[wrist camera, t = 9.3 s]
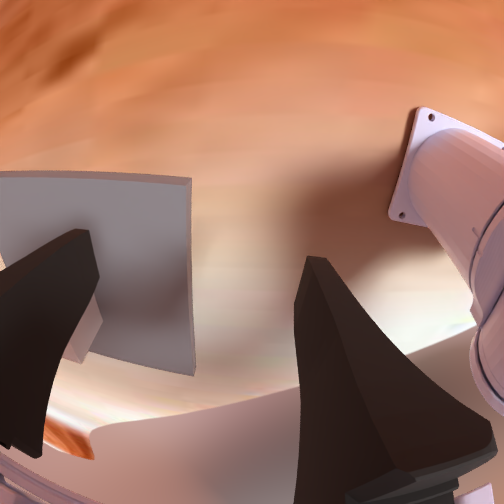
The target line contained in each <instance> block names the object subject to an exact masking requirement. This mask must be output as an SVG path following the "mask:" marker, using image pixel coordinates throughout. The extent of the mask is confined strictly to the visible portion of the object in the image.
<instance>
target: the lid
mask: <svg viewBox="0 0 504 504" xmlns="http://www.w3.org/2000/svg"><path fill="white" fill-rule="evenodd" d="M191 191H192V178H188V177H176V176H164V175H151V174H135V173H117V172H93V171H0V253H1V256H2V258H3V261H4V263H5V266H6V268H7V267H8V266H10V265H12V264H13V263H15V262H17V261H18V260H20V259H22V258H23V257H25V256H27V255H28V254H30V253H32V252H33V251H35V250H36V249H38V248H40V247H41V246H43V245H45V244H46V243H48V242H50V241H51V240H53V239H55V238H57V237H59V236H60V235H62V234H64V233H66V232H68V231H70V230H73V229H75V228H76V229H85V230H89V231H90V236H91V241H92V246H93V250H94V255H95V259H96V263H97V267H98V271H99V275H100V278H99V281H98V283H97V286H96V289H95V291H94V293H93V296H92V298H91V301H90V303H89V305H88V306H87V308H86V310H85V312H84V314H83V316H82V318H81V320H80V321H79V323H78V325H77V327H76V329H75V331H74V333H73V335H72V337H71V338H70V340H69V342H68V344H67V346H66V348H65V351H64V353H63V355H62V357H63V358H65V359H68V360H71V361H74V362H77V363H80V364H82V362H83V360H84V358H85V356H86V354H87V352H88V351H90V352H94V353H97V354H100V355H104V356H107V357H111V358H115V359H118V360H122V361H126V362H130V363H134V364H138V365H142V366H146V367H151V368H155V369H160V370H164V371H169V372H174V373H179V374H184V375H189V376H194V373H195V369H196V358H195V342H194V323H193V300H192V263H191Z"/></svg>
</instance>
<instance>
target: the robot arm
mask: <svg viewBox="0 0 504 504" xmlns="http://www.w3.org/2000/svg"><path fill="white" fill-rule="evenodd" d="M429 114H432V119H431V120H429V119H428V116H429ZM502 148H503V150H502ZM401 212H404V213H403V215H402V216H399V214H400V213H401ZM388 216H389V217H390V219H391V220H394V221H399V222H404V223H409V224H413V225H418V226H423V227H428V228H429V229H430V230H431V232H432V233H433V234H434V236H435V237H436V238H437V240H438V241H439V243H440V244H441V246H442V247H443V248H444V250H445V251H446V253H447V254H448V256H449V257H450V259H451V260H452V262H453V263H454V265H455V266H456V268H457V269H458V271H459V272H460V274H461V276H462V277H463V279H464V280H465V282H466V284H467V285H468V287H469V289H470V290H471V292H472V293H473V297H474V298H473V304H472V306H471V309H470V312H471V314H472V316H473V318H474V320H475V321H476V323H477V325H478V327H479V329H478V330H477V331H476V333H475V335H474V337H473V339H472V342H471V347H470V366H471V371H472V374H473V378H474V380H475V382H476V385H477V387H478V389H479V391H480V392H481V394H482V396H483V397H484V399H485V400H486V401H487V403H488V404H489V405H490V406H491V407H492V408H493V409H494V410H495V411H497V412H498V413H499V414H501V415H502V416H504V143H503V142H501V141H499V140H497V139H495V138H493V137H491V136H490V135H488V134H486V133H484V132H482V131H480V130H478V129H475V128H473V127H471V126H469V125H467V124H465V123H463V122H460V121H458V120H456V119H454V118H451V117H449V116H447V115H444V114H442V113H439V112H437V111H434V110H432V109H429V108H426V107H419V108H418V109H417V111H416V114H415V119H414V123H413V127H412V131H411V135H410V139H409V143H408V147H407V150H406V154H405V158H404V161H403V165H402V168H401V172H400V175H399V178H398V182H397V185H396V188H395V191H394V194H393V197H392V200H391V203H390V206H389V209H388ZM99 278H100V275H99V271H98V267H97V263H96V259H95V255H94V250H93V246H92V241H91V236H90V231H89V230H85V229H76V228H75V229H73V230H70V231H68V232H66V233H64V234H62V235H60V236H59V237H57V238H55V239H53V240H51V241H50V242H48V243H46V244H45V245H43V246H41V247H40V248H38V249H36V250H35V251H33V252H32V253H30V254H28V255H27V256H25V257H23V258H22V259H20V260H18V261H17V262H15V263H13V264H12V265H10V266H8V267H7V268H5V269H4V270H2V271H0V445H2V446H3V447H5V448H6V449H8V450H9V449H10V447H11V446H13V447H15V448H17V449H18V450H20V451H22V452H23V453H25V454H27V455H29V456H30V457H32V458H39V457H41V456H42V445H43V432H44V424H45V417H46V411H47V406H48V401H49V397H50V393H51V389H52V385H53V381H54V378H55V375H56V372H57V369H58V366H59V363H60V360H61V358H62V355H63V353H64V351H65V348H66V346H67V344H68V342H69V340H70V338H71V337H72V335H73V333H74V331H75V329H76V327H77V325H78V323H79V321H80V320H81V318H82V316H83V314H84V312H85V310H86V308H87V306H88V305H89V303H90V301H91V298H92V296H93V293H94V291H95V289H96V286H97V283H98V281H99ZM294 337H295V346H296V356H297V365H298V374H299V384H300V398H301V416H300V418H301V419H300V421H301V422H300V442H299V459H298V469H297V480H296V488H295V496H294V503H293V504H494V498H493V492H492V486H491V483H487V484H484V485H482V486H480V487H478V488H476V489H474V490H471V491H469V492H467V493H465V494H462V495H460V496H458V497H455V498H454V496H453V491H454V490H456V489H458V487H459V483H458V477H460V476H462V475H464V474H466V473H468V472H470V471H472V470H473V469H475V468H477V467H479V466H481V465H482V464H484V463H486V462H487V461H489V460H490V459H492V458H493V457H494V456H496V454H497V452H498V449H497V445H496V442H495V438H494V434H493V430H492V427H491V424H490V421H488V420H487V419H485V418H483V417H482V416H480V415H479V414H477V413H476V412H474V411H473V410H471V409H470V408H468V407H466V406H465V405H463V404H462V403H460V402H459V401H458V400H456V399H455V398H454V397H452V396H451V395H450V394H448V393H447V392H446V391H445V390H443V389H442V388H441V387H439V386H438V385H437V384H436V383H435V382H433V381H432V380H431V379H430V378H429V377H427V376H426V375H425V374H424V373H423V372H422V371H421V370H420V369H419V368H418V367H416V366H415V365H414V364H413V363H412V362H411V361H410V360H409V359H408V358H407V357H406V356H405V355H404V354H403V353H402V352H401V351H400V350H399V349H398V348H397V347H396V346H395V345H394V344H393V343H392V342H391V341H390V339H389V338H388V337H387V336H386V335H385V334H384V333H383V332H382V331H381V329H380V328H379V327H378V326H377V325H376V323H375V322H374V321H373V320H372V319H371V317H370V316H369V315H368V314H367V312H366V311H365V310H364V309H363V307H362V306H361V305H360V303H359V302H358V301H357V300H356V298H355V297H354V296H353V294H352V293H351V292H350V290H349V289H348V287H347V286H346V285H345V283H344V282H343V280H342V279H341V278H340V276H339V275H338V274H337V272H336V271H335V269H334V268H333V267H332V265H331V264H330V262H329V261H328V260H327V258H321V257H313V256H307V258H306V262H305V266H304V270H303V273H302V277H301V281H300V284H299V288H298V292H297V295H296V299H295V302H294ZM3 475H4V476H5V477H7V478H8V479H10V480H11V481H13V482H14V483H16V484H18V485H19V486H21V487H22V488H24V489H26V490H27V491H29V492H31V493H32V494H34V495H36V496H38V497H40V498H42V499H43V500H45V501H47V502H49V503H51V504H103V503H100V502H97V501H95V500H92V499H89V498H87V497H84V496H82V495H80V494H77V493H75V492H73V491H70V490H68V489H66V488H64V487H62V486H59V485H57V484H55V483H53V482H51V481H49V480H47V479H45V478H43V477H41V476H40V475H38V474H36V473H34V472H32V471H30V470H29V469H27V468H25V467H23V466H22V465H20V464H18V463H17V462H15V461H14V460H12V459H10V458H9V457H7V456H6V455H4V454H2V453H1V452H0V504H46V503H44V502H43V501H42V500H40V499H38V498H37V497H35V496H33V495H31V494H29V493H27V492H25V491H23V490H21V489H19V488H17V487H15V486H13V485H11V484H9V483H7V482H6V481H5V480H4V476H3Z"/></svg>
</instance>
